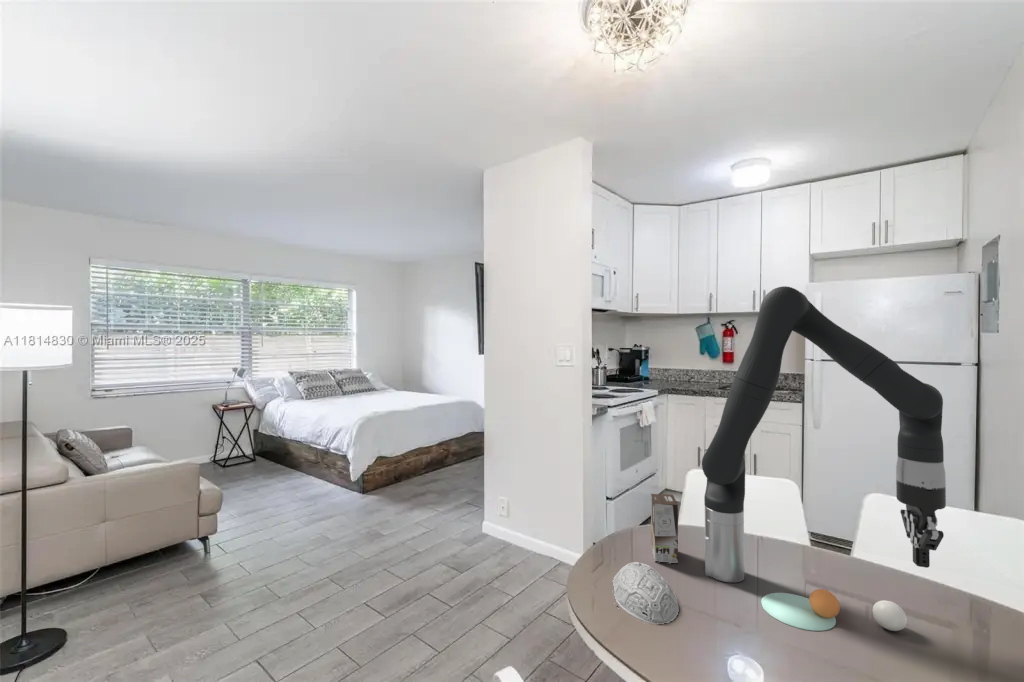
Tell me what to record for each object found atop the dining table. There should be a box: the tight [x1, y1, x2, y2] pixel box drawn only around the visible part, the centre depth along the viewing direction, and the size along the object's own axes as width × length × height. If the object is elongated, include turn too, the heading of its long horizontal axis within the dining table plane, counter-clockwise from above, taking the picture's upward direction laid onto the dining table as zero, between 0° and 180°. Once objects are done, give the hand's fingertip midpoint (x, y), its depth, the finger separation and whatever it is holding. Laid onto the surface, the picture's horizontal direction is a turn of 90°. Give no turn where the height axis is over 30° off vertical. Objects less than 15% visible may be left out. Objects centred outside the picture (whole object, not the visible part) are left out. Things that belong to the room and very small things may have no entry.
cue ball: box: [872, 600, 908, 632], centre depth 95 cm, size 6×6×6 cm
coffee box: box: [650, 493, 679, 564], centre depth 128 cm, size 9×6×16 cm
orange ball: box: [808, 588, 841, 618], centre depth 99 cm, size 6×6×6 cm
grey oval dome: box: [612, 561, 680, 625], centre depth 108 cm, size 16×25×7 cm, turn 176°
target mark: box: [760, 592, 837, 632], centre depth 101 cm, size 14×14×1 cm
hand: (921, 565), depth 93 cm, fingers closed
